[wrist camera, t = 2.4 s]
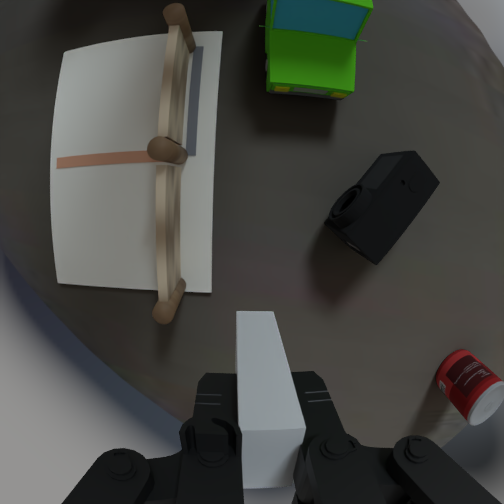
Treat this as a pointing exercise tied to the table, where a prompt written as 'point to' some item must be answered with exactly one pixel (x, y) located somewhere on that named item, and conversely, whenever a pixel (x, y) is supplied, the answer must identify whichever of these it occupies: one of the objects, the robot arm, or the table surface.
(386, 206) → the digital camera
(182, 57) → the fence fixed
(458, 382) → the canned food
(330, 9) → the toy car
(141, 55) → the card
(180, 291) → the fence gate
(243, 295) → the table surface
